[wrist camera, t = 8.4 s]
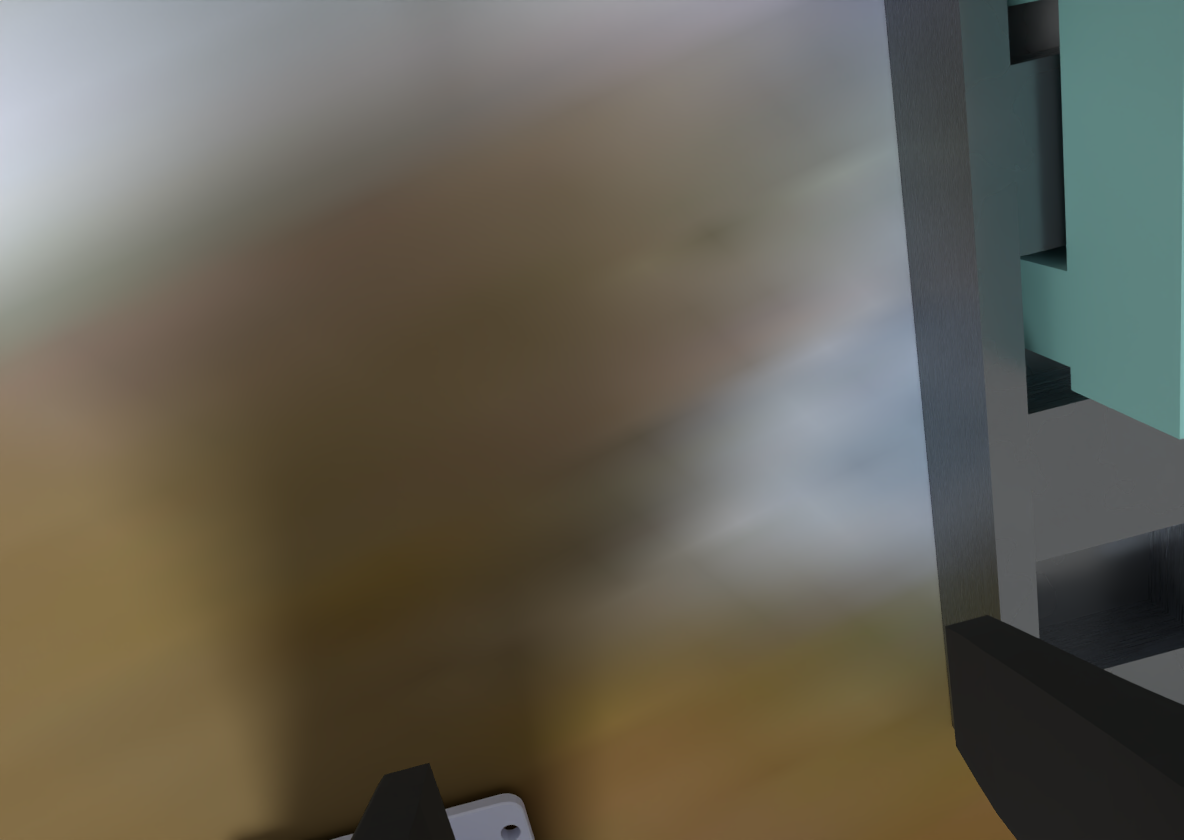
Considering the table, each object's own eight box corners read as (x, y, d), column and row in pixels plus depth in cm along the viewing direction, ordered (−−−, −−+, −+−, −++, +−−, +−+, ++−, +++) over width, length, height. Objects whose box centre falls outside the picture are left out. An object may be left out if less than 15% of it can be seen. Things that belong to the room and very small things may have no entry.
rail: (1153, 672, 25) (1238, 741, 23) (952, 726, 25) (1013, 803, 22) (1153, -349, 17) (1286, -439, 15) (857, -286, 17) (934, -366, 14)
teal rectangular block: (1120, 331, 21) (1329, 400, 16) (1005, 360, 21) (1179, 438, 16) (1113, -159, 17) (1377, -271, 12) (977, -128, 17) (1186, -229, 12)
